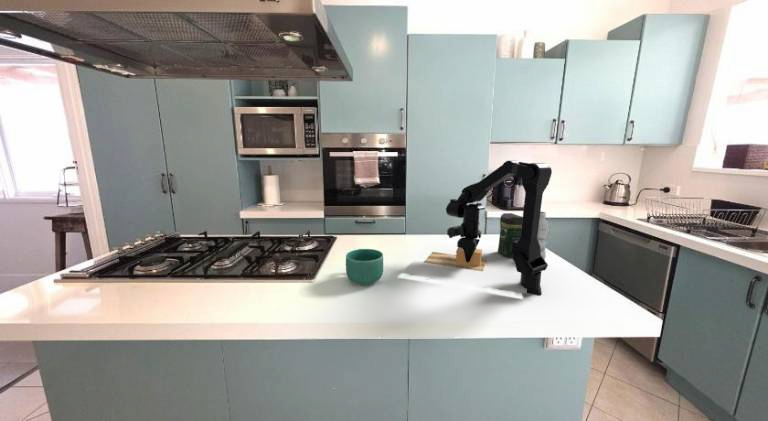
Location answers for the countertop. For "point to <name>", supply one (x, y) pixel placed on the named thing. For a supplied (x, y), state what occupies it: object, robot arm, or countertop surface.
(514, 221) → the coffee jar
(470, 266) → the oak board
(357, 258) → the mug
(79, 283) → the countertop surface
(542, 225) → the plastic bottle
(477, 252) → the block
